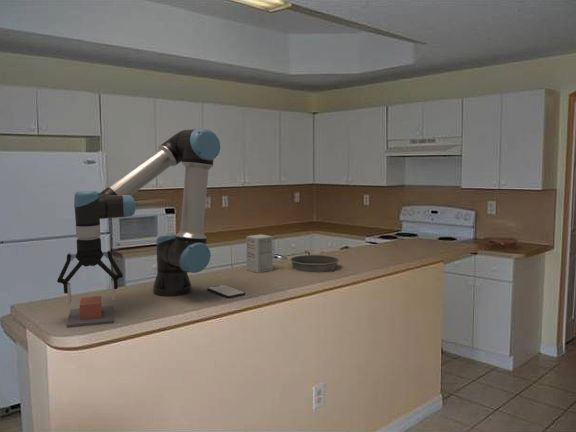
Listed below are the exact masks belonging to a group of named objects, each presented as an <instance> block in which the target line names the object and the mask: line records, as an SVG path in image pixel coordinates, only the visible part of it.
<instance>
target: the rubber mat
mask: <svg viewBox="0 0 576 432" xmlns="http://www.w3.org/2000/svg"><path fill="white" fill-rule="evenodd" d="M114 320H115V318H114V306H113V305H106V306H102V318H98V319H88V320H80V308H70V310H69V312H68V318H67V321H66V328H75V327H86V326H95V325H104V324H105V325H107V324H115V323H114V322H115V321H114Z"/></svg>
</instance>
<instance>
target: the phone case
mask: <svg viewBox="0 0 576 432" xmlns="http://www.w3.org/2000/svg"><path fill="white" fill-rule="evenodd" d="M206 289H207V292H209V293H211V294H214V295H217V296H219V297H222V298H226V299H233V298H238V297H244V296H245V295H246V292H245V291H242V290H239V289H236V288H234V287H232V286H228V285H226V284H220V285H215V286H209V287H207V288H206Z"/></svg>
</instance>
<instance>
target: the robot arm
mask: <svg viewBox="0 0 576 432" xmlns="http://www.w3.org/2000/svg"><path fill="white" fill-rule="evenodd" d="M220 152H221V141H220V139H219V136H217V135H216V133H215V132H214V131H213V130H211V129H210V128H209V129H208V128H203V127H202V128H201V127H200V128H199V127H198V128H193V129H184V130H181V131H178V132H177V133H175V134H173V135H172V136H171V137H169V138H168V139H167V140H165V141H164V142H163V143H162V144H160V146H158V149H157V151H155V152H153V153H152V154H151V155H149V156H148V157H147V158H146V159H145V160H143V161H142V162H140V163H139V164H137V165H136V166H135V167H133V168H132V169H131V170H129V171H128V172H127V173H125V174H124V175H122V176H121V177H120V178H118V179H117V180H116V181H114V182H113V183H112V184H110V185H109V186H108V187H106V188H105V189H103V190H102V191H101V192H98V191H97V190H82V191H81V190H80V191H76V192H75V193H74V198H73V199H74V200H73V201H74V203H73V204H74V205H73V207H74V217H75V237H76V253H71V252H68V253H67V255H66V260H65V264H63V265H64V266H63V267H62V270H61V272H60V274H59V275H58V278H57V280H56V282H57V283H59V284H62V285H63V293H64V294H67V302H68V305H70V304H71V305H72V291H71V288H72V287H71V282H70V281H71V279H72V278H73V277H74V275H75V274H76V273H77V272H78V271H79V269H80V268H81V267H82V266H83V267H89V266H90V267H96V266H97V265H98V266H99V267H100V268H101V269H102V270H104V272H105V273H106V274H107V275H108V276H109V277H111V280H110V281H111V283H110V284H111V299H112V301H114V300H116V299H115V290H118V288H119V287H118V280H119V279H121V278H123V276H124V275H123V272H122V271H121V269H120V267H119V266H118V264H117V263H116V261H115V260H114V257H113V256H112V255H113V254H112V251H111V250H110V249H109V250H108V251H102V238H100V237H101V220H105V219H115V218H116V219H117V218H127V217H128V218H129V217H132V216H134V215H135V212H136V201H135V199H134V197H133V195H134V194H135V193H137V192H139V190H140V189H142V188H144V187H145V186H146V185H148V184H149V183H150V182H152V180H154V179H156V178H157V177H159V176H160V174H162V173H163V172H165V171H167V169H169V168H170V167H176V166H177V165H178V164H180V163H181V164H182V165H183V166H184V167H185V171H184V172H185V173H184V181H183V193H182V194H183V195H182V206H181V216H180V217H181V218H180V230H179V232H178V233H176V234H170V235H169V234H167V235H160V236H158V237H157V238H156V266H157V267H156V275H155V276H156V277H155V279H154V283H153V286H152V294H154V295H157V296H163V297H164V296H165V297H173V296H176V297H177V296H183V295H186V294H189V293H191V292H192V283H191V280H190V277H189V275H188V273H191V274H195V273H200V272H202V271H203V270H204V269H205V268H206V267H208V265H209V264H210V263H209V262H210V261H211V256H212V255H211V254H212V253H211V250H210V248H209V246H207V236H206V235H205V234H204V228H205V227H204V225H205V213H206V201H207V192H208V191H207V190H208V180H209V170H211V168H213V167H214V159H216V158H217V157H218V156H219V154H220ZM103 257H105V258H106V259H108V260H109V263H110V264H111V266H112V268H113V269H114V270H115V273H116V274H115V273H114V272H113V271H112V269H110V267H108V266H107V265H106V264H105V263H104V262H103V261H102V260H101V259H102V258H103ZM75 258H76V259H77V261H78V262H77V264H76V265H75V266H74V268H72V270H71V271H70V272H69V274H68V275H67V276H66V277H65V275H66V273H67V270H68V268H69V267H70V264H71V262H72V261H73V260H74V259H75ZM64 277H65V278H64Z"/></svg>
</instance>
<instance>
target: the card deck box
mask: <svg viewBox="0 0 576 432" xmlns="http://www.w3.org/2000/svg"><path fill="white" fill-rule="evenodd" d="M79 302H80V303H79V309H80V320H88V319H98V318H102V307H103V306H102V296H101V295H96V296H93V295H91V296H82V297H80V301H79Z"/></svg>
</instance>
